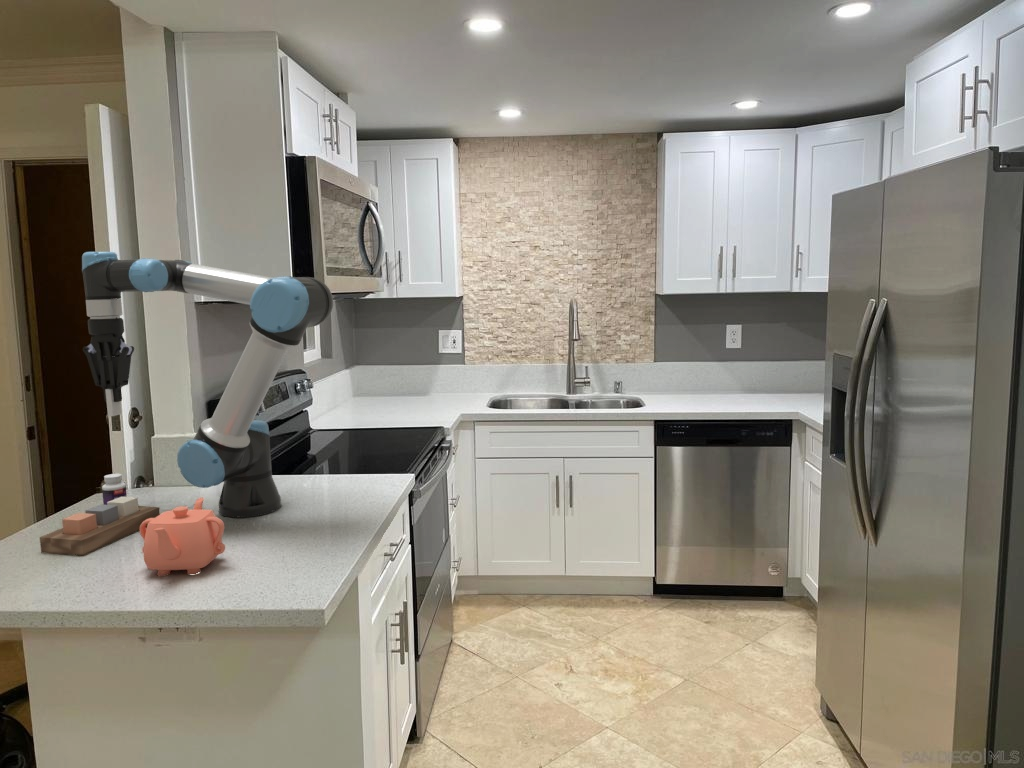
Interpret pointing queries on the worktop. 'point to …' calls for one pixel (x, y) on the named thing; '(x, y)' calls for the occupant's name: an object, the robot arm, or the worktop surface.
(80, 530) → the salmon orange cube
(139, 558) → the worktop surface
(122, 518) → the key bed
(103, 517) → the slate key
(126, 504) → the cream cube
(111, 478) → the pill bottle
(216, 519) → the teapot
